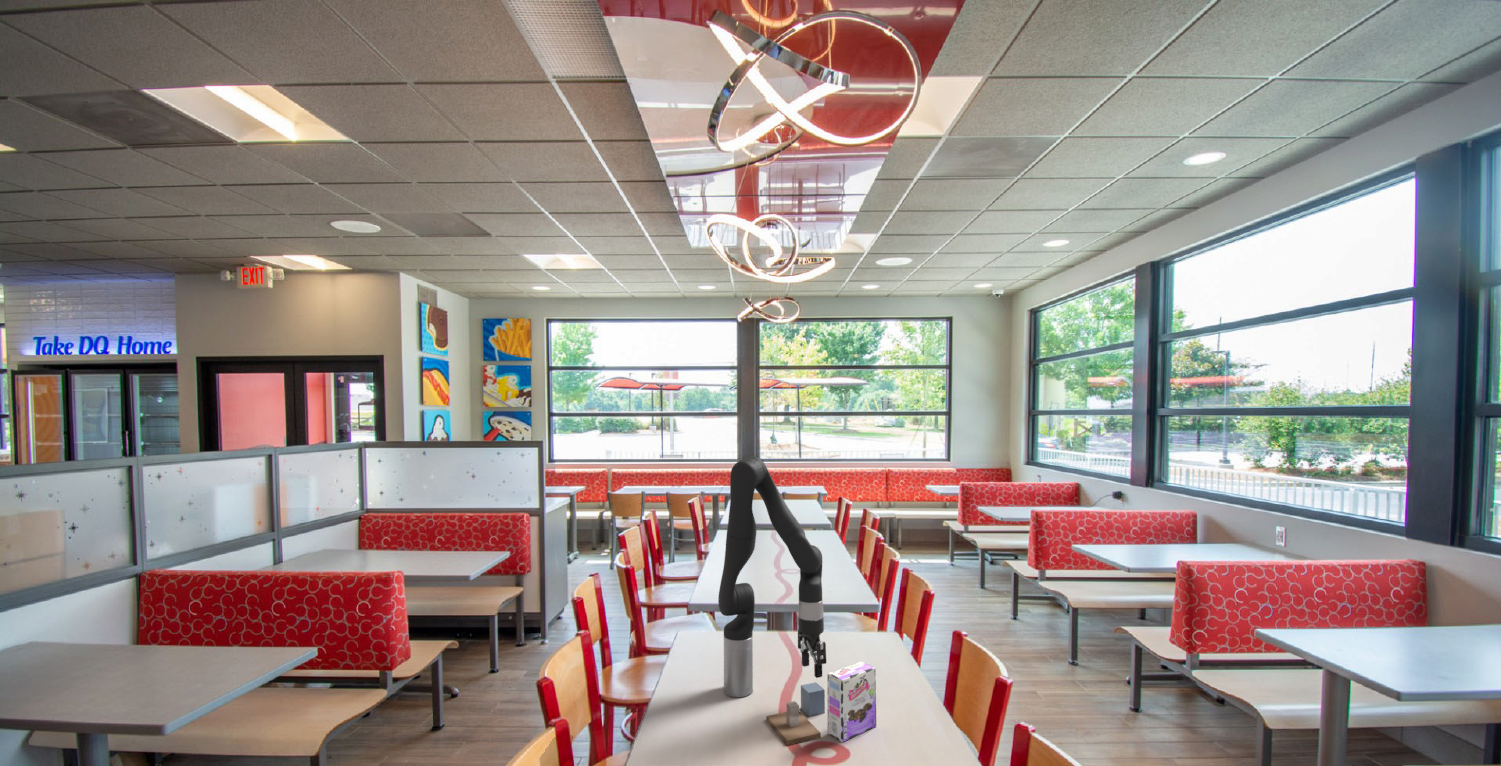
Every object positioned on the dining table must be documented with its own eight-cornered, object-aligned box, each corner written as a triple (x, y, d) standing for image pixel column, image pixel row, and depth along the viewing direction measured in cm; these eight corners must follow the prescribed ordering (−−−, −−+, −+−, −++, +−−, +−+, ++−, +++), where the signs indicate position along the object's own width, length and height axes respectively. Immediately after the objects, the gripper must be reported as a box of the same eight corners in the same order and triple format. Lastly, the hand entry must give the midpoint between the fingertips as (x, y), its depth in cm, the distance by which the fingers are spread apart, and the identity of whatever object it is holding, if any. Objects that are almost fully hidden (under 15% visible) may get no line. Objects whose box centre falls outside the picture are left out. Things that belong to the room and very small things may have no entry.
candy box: (842, 743, 158) (841, 679, 159) (826, 733, 163) (826, 672, 164) (877, 726, 166) (876, 666, 167) (861, 718, 171) (861, 659, 172)
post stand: (766, 720, 170) (766, 696, 170) (797, 713, 174) (797, 689, 174) (787, 745, 157) (787, 719, 158) (820, 737, 161) (820, 712, 161)
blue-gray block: (800, 707, 177) (800, 685, 178) (816, 704, 179) (816, 682, 179) (809, 716, 172) (808, 692, 173) (824, 712, 174) (824, 689, 175)
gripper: (789, 609, 182) (790, 664, 181) (810, 624, 169) (811, 682, 168) (811, 606, 185) (812, 660, 183) (833, 620, 171) (834, 678, 170)
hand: (811, 671), depth 176 cm, fingers open, 8 cm apart
